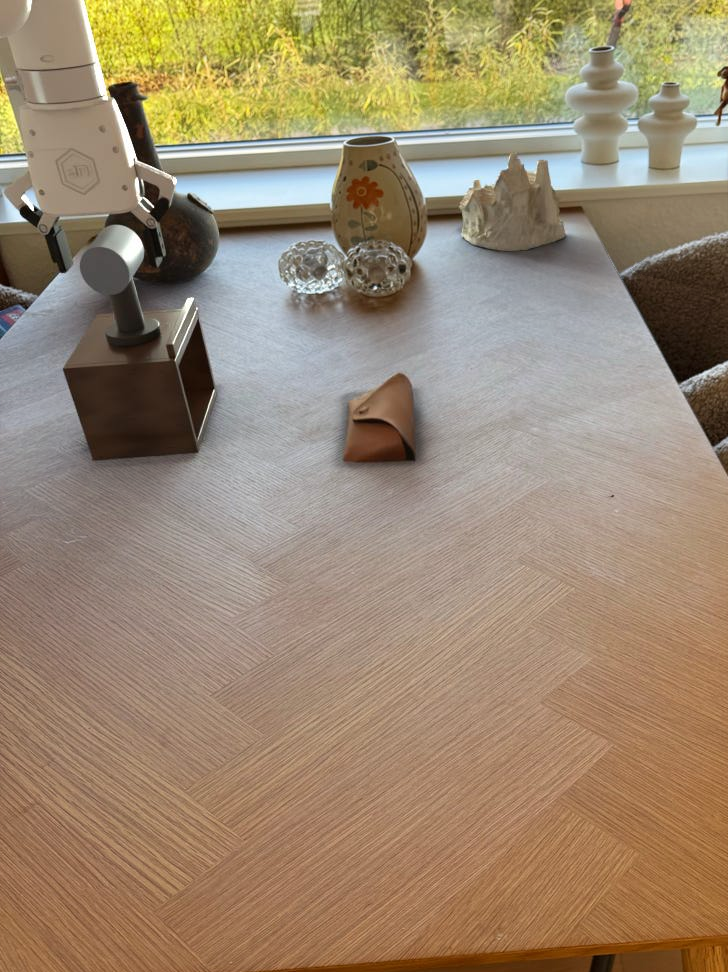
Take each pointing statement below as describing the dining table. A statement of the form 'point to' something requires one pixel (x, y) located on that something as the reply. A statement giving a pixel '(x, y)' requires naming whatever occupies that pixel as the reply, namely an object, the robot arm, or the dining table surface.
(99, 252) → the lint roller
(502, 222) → the ceramic cottage
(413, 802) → the dining table surface
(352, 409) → the sunglasses case
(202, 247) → the glass bottle
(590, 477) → the dining table surface
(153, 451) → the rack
